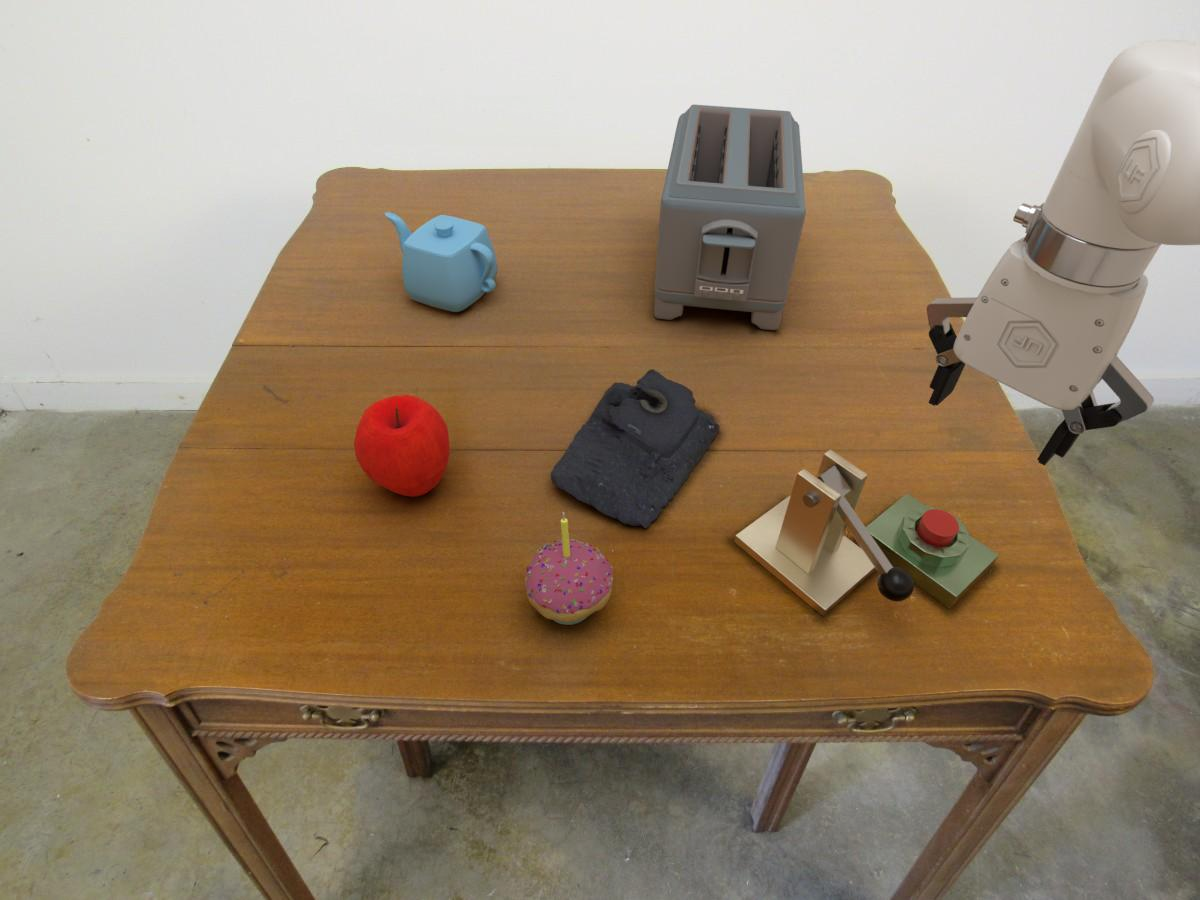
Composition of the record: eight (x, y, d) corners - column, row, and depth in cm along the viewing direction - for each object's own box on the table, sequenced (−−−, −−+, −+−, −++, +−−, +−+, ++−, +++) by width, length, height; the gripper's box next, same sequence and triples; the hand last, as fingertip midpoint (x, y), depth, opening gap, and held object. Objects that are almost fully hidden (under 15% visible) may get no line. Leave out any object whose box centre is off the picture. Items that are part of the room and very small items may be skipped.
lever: (903, 592, 71) (927, 586, 69) (884, 610, 70) (907, 605, 67) (820, 471, 73) (840, 461, 70) (799, 486, 71) (819, 477, 69)
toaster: (648, 335, 105) (658, 200, 91) (670, 221, 128) (680, 99, 114) (780, 349, 103) (811, 213, 89) (778, 230, 127) (802, 107, 112)
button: (960, 535, 76) (966, 524, 75) (940, 553, 74) (946, 542, 73) (929, 514, 78) (934, 503, 77) (909, 531, 76) (915, 520, 75)
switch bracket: (877, 569, 77) (915, 488, 68) (822, 616, 73) (856, 537, 64) (788, 501, 84) (812, 419, 75) (733, 542, 80) (752, 459, 70)
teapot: (421, 257, 119) (408, 189, 111) (517, 284, 114) (512, 215, 106) (373, 296, 112) (356, 226, 103) (474, 327, 106) (465, 256, 98)
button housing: (990, 567, 78) (1006, 544, 75) (948, 609, 74) (963, 586, 71) (901, 505, 83) (912, 481, 81) (858, 541, 80) (868, 517, 77)
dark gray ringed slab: (528, 486, 85) (525, 458, 81) (621, 380, 98) (622, 352, 95) (646, 541, 80) (648, 512, 76) (727, 421, 93) (732, 392, 90)
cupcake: (521, 578, 76) (512, 502, 67) (601, 562, 77) (602, 486, 69) (536, 651, 70) (528, 578, 62) (622, 633, 72) (627, 559, 63)
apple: (355, 511, 82) (327, 433, 73) (388, 449, 89) (366, 370, 80) (441, 524, 81) (424, 446, 72) (468, 460, 88) (454, 381, 79)
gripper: (945, 218, 53) (879, 396, 66) (1209, 322, 45) (1075, 505, 57) (994, 185, 57) (922, 360, 69) (1246, 276, 48) (1113, 457, 61)
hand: (991, 425), depth 63 cm, fingers open, 9 cm apart
